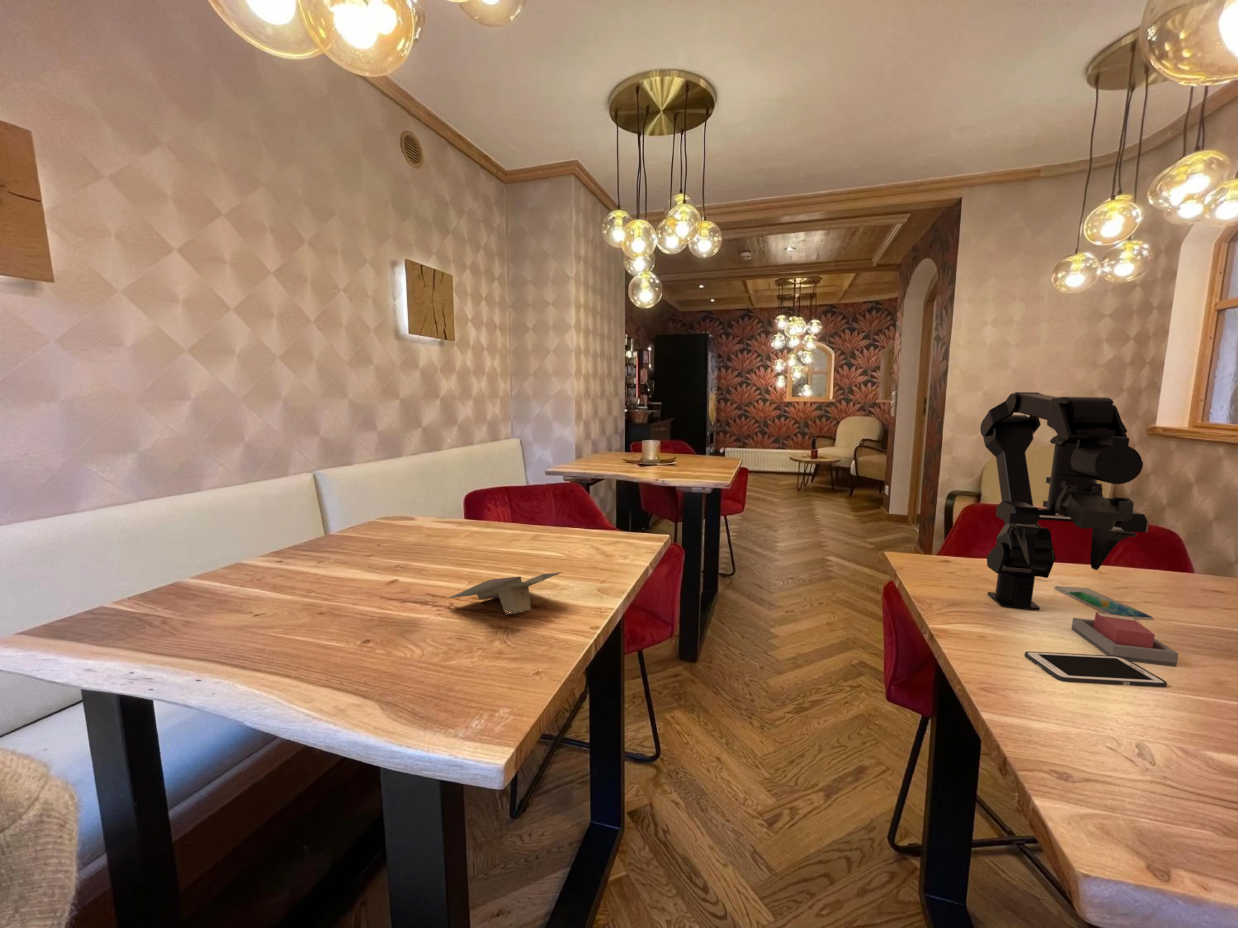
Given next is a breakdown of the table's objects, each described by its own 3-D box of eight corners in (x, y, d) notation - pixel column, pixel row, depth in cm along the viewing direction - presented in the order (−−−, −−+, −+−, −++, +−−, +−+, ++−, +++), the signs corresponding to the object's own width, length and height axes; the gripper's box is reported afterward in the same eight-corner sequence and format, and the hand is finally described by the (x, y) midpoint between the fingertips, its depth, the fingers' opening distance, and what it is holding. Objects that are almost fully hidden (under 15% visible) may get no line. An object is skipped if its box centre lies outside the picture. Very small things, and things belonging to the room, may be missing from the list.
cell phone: (1021, 656, 81) (1021, 650, 81) (1121, 661, 80) (1122, 655, 80) (1058, 683, 73) (1059, 677, 73) (1170, 690, 72) (1171, 683, 72)
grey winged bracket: (453, 644, 89) (493, 608, 81) (443, 597, 93) (480, 558, 85) (532, 630, 101) (574, 597, 93) (520, 589, 105) (559, 554, 97)
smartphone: (1088, 587, 109) (1156, 617, 94) (1087, 591, 109) (1155, 622, 94) (1052, 585, 110) (1114, 615, 95) (1051, 589, 110) (1113, 620, 95)
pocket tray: (1071, 629, 90) (1073, 617, 90) (1127, 635, 88) (1129, 623, 88) (1111, 658, 80) (1113, 645, 80) (1176, 666, 78) (1178, 653, 78)
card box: (1151, 655, 80) (1154, 633, 79) (1113, 649, 81) (1117, 628, 81) (1126, 636, 86) (1130, 615, 86) (1092, 631, 88) (1095, 611, 87)
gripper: (1032, 478, 79) (1020, 576, 81) (1184, 485, 74) (1166, 589, 76) (999, 468, 90) (989, 555, 92) (1130, 474, 85) (1116, 566, 87)
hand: (1061, 566), depth 86 cm, fingers open, 9 cm apart
